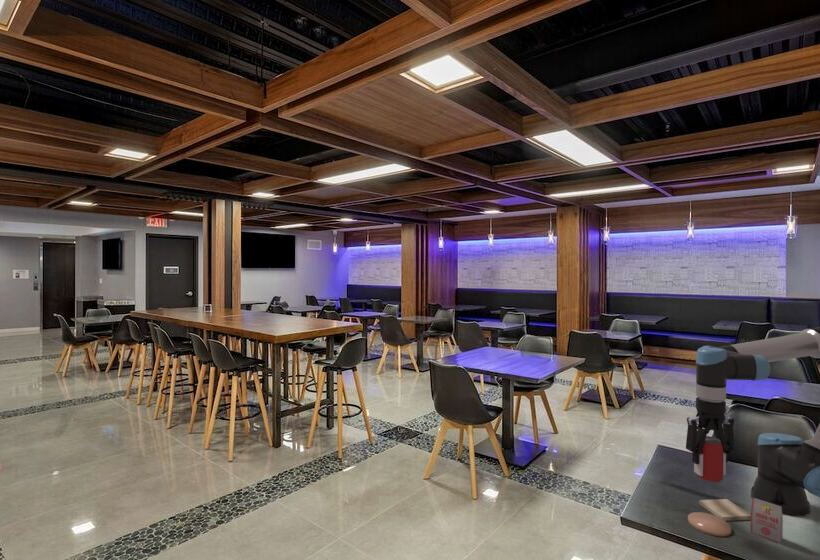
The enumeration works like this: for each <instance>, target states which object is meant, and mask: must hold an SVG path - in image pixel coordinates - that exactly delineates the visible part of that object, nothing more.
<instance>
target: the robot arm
mask: <svg viewBox="0 0 820 560" xmlns="http://www.w3.org/2000/svg"><path fill="white" fill-rule="evenodd" d="M805 357H811V358H815V359H817V358H818V359H820V326H817V327H811V328H806V329H803V330H801V332H800V333H794V334H789V335H783V336H776V337H769V338H764V339H759V340H752V341H745V342H741V343H735V344H729V345H728V344H727V345H721V346H714V345H703V346H701V347H699V348H697V350H696V358H695V359H696V360H695V364H696V371H695V373H696V374H695V376H696V378H695V380H696V383H695V385H696V386H695V387H696V388H695V389H696V390H695V396H696V398H695V409H696V415H695V417H694V416H693V417H692V418H691V417H687V418H686V422H687V431H686V439H685V440H686V442H685V449H686V450H688V451H690V452H691V455H692V456H691V457H692V460H691V461H692V463H693V473H695V474H698V475H700V476H703V454H701V450H702V447H703V444H704V442H705V439H706V436H708V434H709V433H710V431H713V434H714V436H715V437H714V438H717V439H719V440H721V444H722V446H723V476H726V475H727V473H726V471H727V469H726V467H727V463H728V459H729V457H728V455H731V454H732V452H734V451H735V438H734V437H735V436H734V425H735V419H734V418H731V417H729V416H727V415H726V416H725V414H726V413H727V402H726V401H725V400H727V381H730V380H731V381H735V380H736V381H762V380H766V379H767V378H768V377H769V376H770V374H771V364H770V363H772V362H773V363H774V362H779V361H786V360H792V359H798V358H805ZM698 475H697V476H698ZM806 491H807V492H808V493H810V494H811V495H813V496H816V497H818V498H820V423H819V424H818V426H817V428H816V430H815V433H814V435H813V437H812V438H811V439H808V440H807V439H805V440H804V439H803V438H801V437H800V436H796V435H793V434H792V435H791V434H785V433H779V432H778V433H777V432H764V433H761V434H759V435H758V440H757V476H756V478H755V481H754V484H753V486H751V489H750V498H751V499H752V498H756V499H759V500H762V501H765V502H768V503H771V504H775V505H778V506H781V507H782V515H788V516H793V517H795V516H798V517H799V516H800V517H801V516H807V515H810V513H811V503H810V501H809V500H808V496H807V492H806Z"/></svg>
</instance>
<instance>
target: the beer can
mask: <svg viewBox="0 0 820 560" xmlns="http://www.w3.org/2000/svg"><path fill="white" fill-rule="evenodd" d="M701 454H703V476H700V475H698V474H697V473H696V474H697V476H698V477H699V478H700V479H702V480H704V481H707V482H710V483H721V482H722V481H723V479H724V477H723V476H724V475H723V446H722V444H721V440H719V439H717V438H716V437H713V436H709V435H707V436H706V439H705V442H704V444H703V447H702V450H701Z"/></svg>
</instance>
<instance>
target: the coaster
mask: <svg viewBox="0 0 820 560" xmlns="http://www.w3.org/2000/svg"><path fill="white" fill-rule="evenodd" d="M687 522H688V524H689V525H690V526H691V527H693V528H694V529H696V530H697V531H699V532H701V533H703V534H707V535H711V536H714V537H728V536H730V535H731V534H732V531H733V529H732V526H731V525H730V523H729V522H727V521H725V520H723V519H721V518H719V517H717V516H715V515H714V514H712V513H711V514H710V513H707V512H701V511H699V512H697V511H696V512H695V511H694V512H690V513H689V514H688V515H687Z"/></svg>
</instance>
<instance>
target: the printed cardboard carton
mask: <svg viewBox="0 0 820 560" xmlns="http://www.w3.org/2000/svg"><path fill="white" fill-rule="evenodd" d="M750 514H751V520H750V534H753V535H755V536H757V537H761V538H762V539H763V538H764V539H766V540H769V541H771V542H773V543H777V544H779V543H780V544H781V543H782V541H783V531H784V530H783V529H784V528H783V527H784V526H783V525H784V524H783V523H784V517H783V513H782V507H781V506H778V505H775V504H771V503H768V502H765V501H762V500H759V499H756V498H751V509H750Z"/></svg>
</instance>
